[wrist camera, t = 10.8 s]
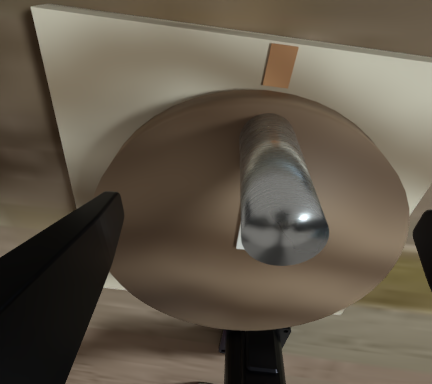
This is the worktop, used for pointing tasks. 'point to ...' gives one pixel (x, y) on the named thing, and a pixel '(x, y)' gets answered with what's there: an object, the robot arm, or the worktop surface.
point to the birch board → (219, 86)
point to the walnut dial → (254, 211)
